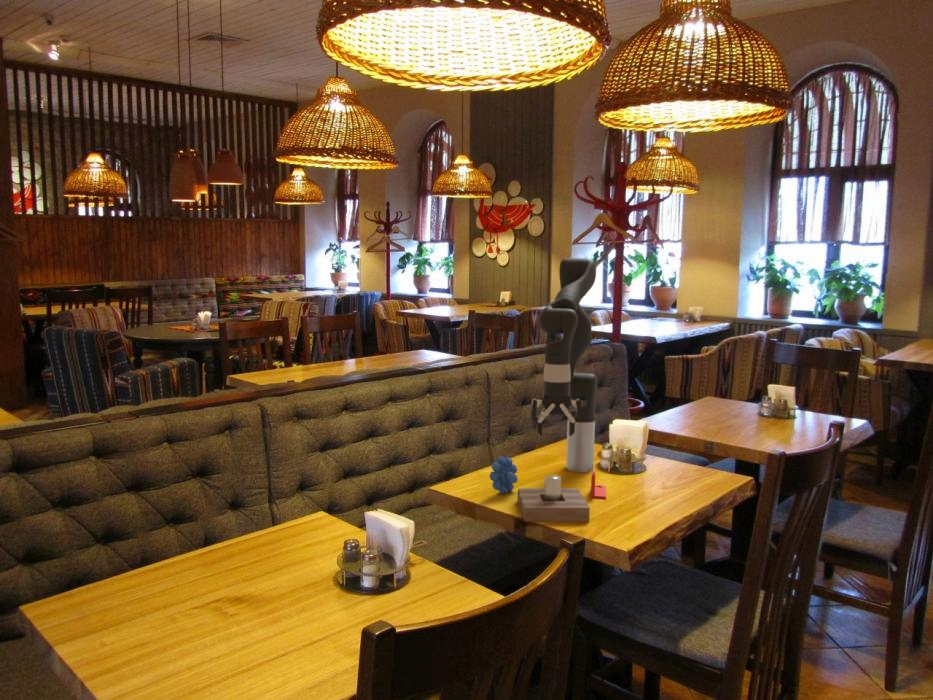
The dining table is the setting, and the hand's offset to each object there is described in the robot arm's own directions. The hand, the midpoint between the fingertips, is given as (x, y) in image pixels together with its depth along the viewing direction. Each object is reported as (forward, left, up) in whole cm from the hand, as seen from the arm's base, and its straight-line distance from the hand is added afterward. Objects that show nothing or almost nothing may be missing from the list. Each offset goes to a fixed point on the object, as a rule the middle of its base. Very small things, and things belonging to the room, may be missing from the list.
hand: (555, 435), depth 221 cm
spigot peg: (+1, 0, -22) cm, 22 cm away
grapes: (-15, -12, -22) cm, 30 cm away
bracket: (-17, +17, -23) cm, 32 cm away
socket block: (+1, -1, -22) cm, 22 cm away
